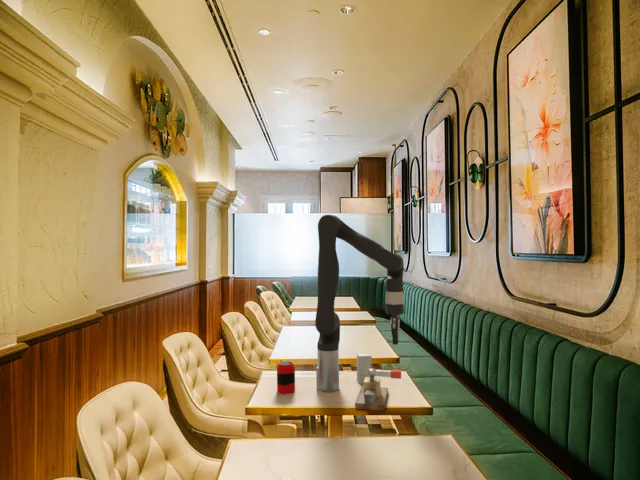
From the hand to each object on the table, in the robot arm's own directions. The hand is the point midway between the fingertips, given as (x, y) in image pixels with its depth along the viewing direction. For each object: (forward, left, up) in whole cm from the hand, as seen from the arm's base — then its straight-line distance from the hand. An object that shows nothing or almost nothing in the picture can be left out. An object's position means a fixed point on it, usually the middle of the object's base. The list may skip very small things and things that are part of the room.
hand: (395, 344), depth 171 cm
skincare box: (-15, +14, -21) cm, 30 cm away
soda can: (-46, -5, -21) cm, 51 cm away
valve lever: (-4, -7, -12) cm, 14 cm away
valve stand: (-9, -7, -21) cm, 24 cm away
